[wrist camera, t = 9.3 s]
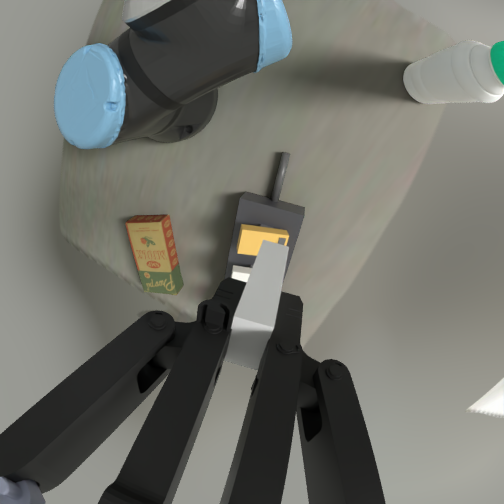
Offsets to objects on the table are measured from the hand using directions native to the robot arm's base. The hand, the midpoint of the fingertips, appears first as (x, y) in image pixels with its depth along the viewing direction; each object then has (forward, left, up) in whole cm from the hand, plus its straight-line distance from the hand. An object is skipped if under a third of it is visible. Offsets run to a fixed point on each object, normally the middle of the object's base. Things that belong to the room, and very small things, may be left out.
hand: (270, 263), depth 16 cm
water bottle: (+16, +21, -30) cm, 40 cm away
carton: (-22, -22, -30) cm, 43 cm away
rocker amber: (-2, -11, -23) cm, 26 cm away
